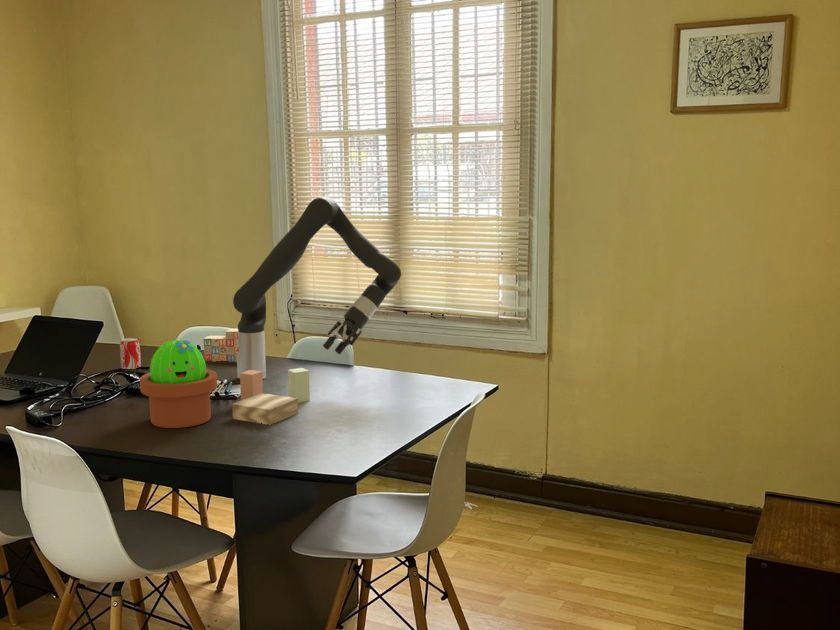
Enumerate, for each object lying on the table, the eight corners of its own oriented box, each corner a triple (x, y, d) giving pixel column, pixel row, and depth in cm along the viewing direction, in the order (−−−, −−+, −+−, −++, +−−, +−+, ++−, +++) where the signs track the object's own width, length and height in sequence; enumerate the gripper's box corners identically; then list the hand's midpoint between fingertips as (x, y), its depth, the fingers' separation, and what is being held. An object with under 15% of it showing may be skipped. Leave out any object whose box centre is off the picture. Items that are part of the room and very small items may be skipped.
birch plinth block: (232, 420, 253) (232, 403, 252) (262, 408, 265) (261, 393, 264) (270, 426, 247) (269, 409, 246) (298, 414, 259) (297, 398, 258)
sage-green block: (289, 399, 274) (288, 369, 272) (303, 397, 276) (302, 367, 275) (295, 403, 270) (294, 372, 268) (309, 400, 272) (308, 370, 270)
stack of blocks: (204, 361, 329) (202, 330, 327) (209, 358, 335) (208, 327, 333) (257, 362, 327) (256, 331, 325) (262, 359, 333) (260, 328, 331)
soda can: (137, 373, 310) (135, 341, 308) (118, 373, 311) (116, 341, 308) (143, 368, 317) (142, 337, 315) (125, 368, 317) (123, 337, 315)
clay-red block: (241, 403, 269) (239, 373, 268) (250, 399, 274) (249, 369, 272) (253, 405, 267) (252, 374, 265) (263, 401, 271) (262, 371, 270)
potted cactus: (140, 414, 258) (135, 334, 253) (213, 406, 266) (209, 329, 261) (145, 435, 238) (139, 348, 233) (224, 426, 246) (220, 342, 241)
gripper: (343, 302, 285) (313, 339, 281) (363, 308, 273) (333, 347, 269) (357, 316, 289) (328, 353, 284) (378, 322, 277) (348, 361, 273)
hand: (330, 350), depth 277 cm, fingers open, 8 cm apart
